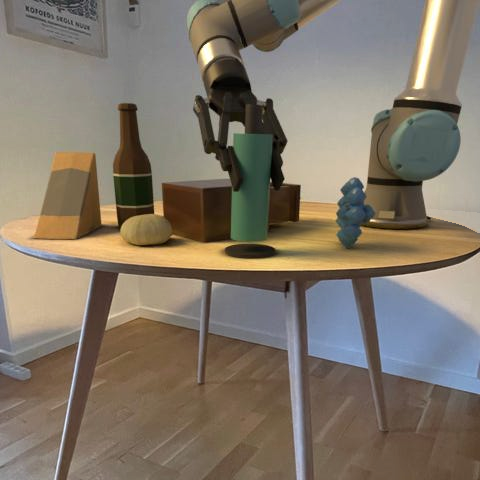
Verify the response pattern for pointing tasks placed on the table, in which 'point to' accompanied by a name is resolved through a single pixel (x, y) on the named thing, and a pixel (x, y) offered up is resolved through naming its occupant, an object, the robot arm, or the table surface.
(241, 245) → the mat
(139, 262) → the table surface
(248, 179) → the soap bottle
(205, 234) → the cabinet
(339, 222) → the grapes
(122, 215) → the beer bottle
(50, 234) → the sandwich container
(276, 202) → the drawer
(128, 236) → the sea urchin shell
